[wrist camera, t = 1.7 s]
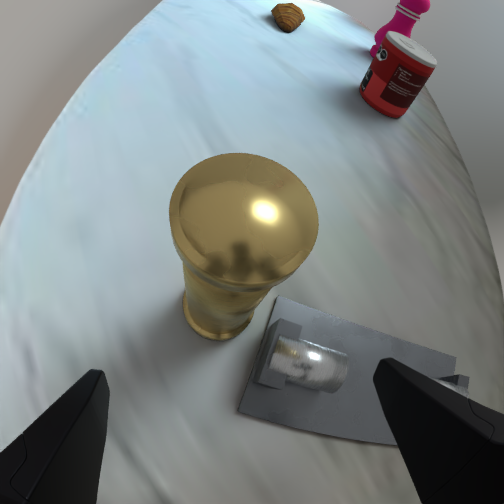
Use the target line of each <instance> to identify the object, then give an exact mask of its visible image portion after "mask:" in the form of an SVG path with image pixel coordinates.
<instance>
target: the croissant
mask: <svg viewBox="0 0 504 504" xmlns="http://www.w3.org/2000/svg"><path fill="white" fill-rule="evenodd" d="M271 12H272V14H273V16H274V18H275V20H276V22H277V25H278V26H279V27H280V28H281V29H282V30H283V31H285V32H293V31H294V30H295V29H296V28H297V27H299V26H300V25H301V24H300V23H302V22H303V21H304V20H305V17H304V14H303V12H302V10H301V9H300V8H299V7H297V6H296V5H294V4H293V3H286V4H277V5H276V6H275V7H274V8H273V9H272V10H271Z"/></svg>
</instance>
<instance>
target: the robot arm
mask: <svg viewBox="0 0 504 504" xmlns="http://www.w3.org/2000/svg"><path fill="white" fill-rule="evenodd" d="M373 383H374V386H375V389H376V392H377V395H378V398H379V401H380V404H381V407H382V410H383V413H384V416H385V418H386V420H387V423H388V425H389V427H390V429H391V432H392V434H393V436H394V438H395V441H396V443H397V445H398V448H399V450H400V452H401V455H402V457H403V459H404V462H405V464H406V466H407V469H408V471H409V473H410V476H411V478H412V481H413V483H414V486H415V488H416V491H417V493H418V496H419V498H420V501H421V503H422V504H504V414H502V413H500V412H497V411H495V410H492V409H490V408H488V407H485V406H483V405H481V404H479V403H477V402H475V401H473V400H471V399H469V398H467V397H465V396H463V395H461V394H459V393H458V392H456V391H454V390H452V389H450V388H448V387H446V386H444V385H442V384H440V383H438V382H437V381H435V380H433V379H431V378H429V377H427V376H425V375H423V374H421V373H420V372H418V371H416V370H414V369H412V368H410V367H408V366H407V365H405V364H403V363H401V362H399V361H397V360H396V359H394V358H391V357H388V358H383V359H381V360H380V361H379V363H378V365H377V368H376V370H375V372H374V375H373ZM109 397H110V391H109V386H108V383H107V380H106V376H105V373H104V372H103V371H102V370H97V369H90V370H89V371H88V372H87V373H86V374H84V375H83V376H82V377H81V378H80V379H79V380H78V381H77V382H76V383H75V384H74V385H73V386H71V387H70V388H69V389H68V390H67V391H66V392H65V393H64V394H63V395H62V396H61V397H60V398H59V399H57V400H56V401H55V402H54V403H53V404H52V405H51V406H50V407H49V408H48V409H47V410H46V411H45V412H44V413H43V414H41V415H40V416H39V417H38V418H37V419H36V420H35V421H34V422H33V423H32V424H31V425H30V426H29V427H28V428H27V429H26V430H25V431H24V432H23V434H20V435H19V436H18V437H17V438H16V439H15V440H14V441H13V442H12V443H11V444H10V445H9V446H7V447H6V448H5V449H4V450H3V451H2V452H0V504H96V501H97V493H98V485H99V478H100V471H101V465H102V459H103V453H104V447H105V441H106V433H107V420H108V407H109Z"/></svg>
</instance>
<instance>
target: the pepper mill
mask: <svg viewBox="0 0 504 504" xmlns="http://www.w3.org/2000/svg"><path fill="white" fill-rule="evenodd" d="M429 8H430V1H429V0H400V3H397V6H396V9H397V10H396V13H395V16H394V17H393V19H392V20H391V21H390V22H389V23H388V24H386V25H385V26H383V27H382V28H380V29H379V30H378V31H377V33H376V34H375V42H376V45H373V46H372V48H371V50H370V54H371V56H372V57H373V58H374V57H375V55H376V53H377V51H378V49H379V47H380V45H381V43H382V41H383V39H384V37H385V35H386V34H387V32H388V31H393V32H397V33H400V34H402V35H404V36H406V37H408V38H410V34H411V30H412V28H413V25H414V24H415V22H416V21H419V20H420V17H421V15H420V14H421V13H424V12H427V11H428V10H429Z"/></svg>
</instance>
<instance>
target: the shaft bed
mask: <svg viewBox="0 0 504 504" xmlns="http://www.w3.org/2000/svg"><path fill="white" fill-rule="evenodd" d="M388 357H391V358H394V359H396V360H397V361H399V362H401V363H403V364H405V365H407V366H408V367H410V368H412V369H414V370H416V371H418V372H420V373H421V374H423V375H425V376H427V377H429V378H431V379H433V380H435V381H437V382H438V383H440V384H442V385H444V386H446V387H448V388H450V389H452V390H454V391H456V392H458V393H459V394H461V395H463V396H465V397H467V398H469V394H468V390H467V389H468V383H469V377H467V376H463V375H454V371H455V363H456V357H453V356H450V355H447V354H444V353H441V352H438V351H435V350H432V349H429V348H426V347H422V346H419V345H416V344H413V343H410V342H407V341H404V340H401V339H399V338H396V337H393V336H390V335H387V334H384V333H381V332H378V331H375V330H372V329H369V328H367V327H364V326H361V325H358V324H355V323H352V322H349V321H347V320H344V319H341V318H338V317H335V316H333V315H330V314H327V313H324V312H322V311H319V310H316V309H313V308H311V307H308V306H305V305H303V304H300V303H297V302H295V301H292V300H289V299H286V298H284V297H281V296H279V295H278V296H277V299H276V302H275V305H274V308H273V311H272V314H271V317H270V320H269V323H268V326H267V329H266V332H265V335H264V338H263V341H262V344H261V346H260V349H259V352H258V355H257V358H256V361H255V364H254V367H253V369H252V372H251V375H250V378H249V381H248V383H247V386H246V389H245V392H244V395H243V397H242V400H241V403H240V406H239V408H238V412H241V413H244V414H248V415H251V416H254V417H257V418H261V419H264V420H268V421H272V422H275V423H279V424H283V425H287V426H291V427H295V428H299V429H303V430H307V431H312V432H316V433H321V434H326V435H331V436H337V437H342V438H348V439H354V440H360V441H367V442H374V443H382V444H391V445H397V443H396V441H395V438H394V436H393V434H392V432H391V429H390V427H389V425H388V423H387V420H386V418H385V416H384V413H383V410H382V407H381V404H380V401H379V398H378V395H377V392H376V389H375V386H374V383H373V375H374V372H375V370H376V368H377V365H378V363H379V361H380V360H381V359H383V358H388Z"/></svg>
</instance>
